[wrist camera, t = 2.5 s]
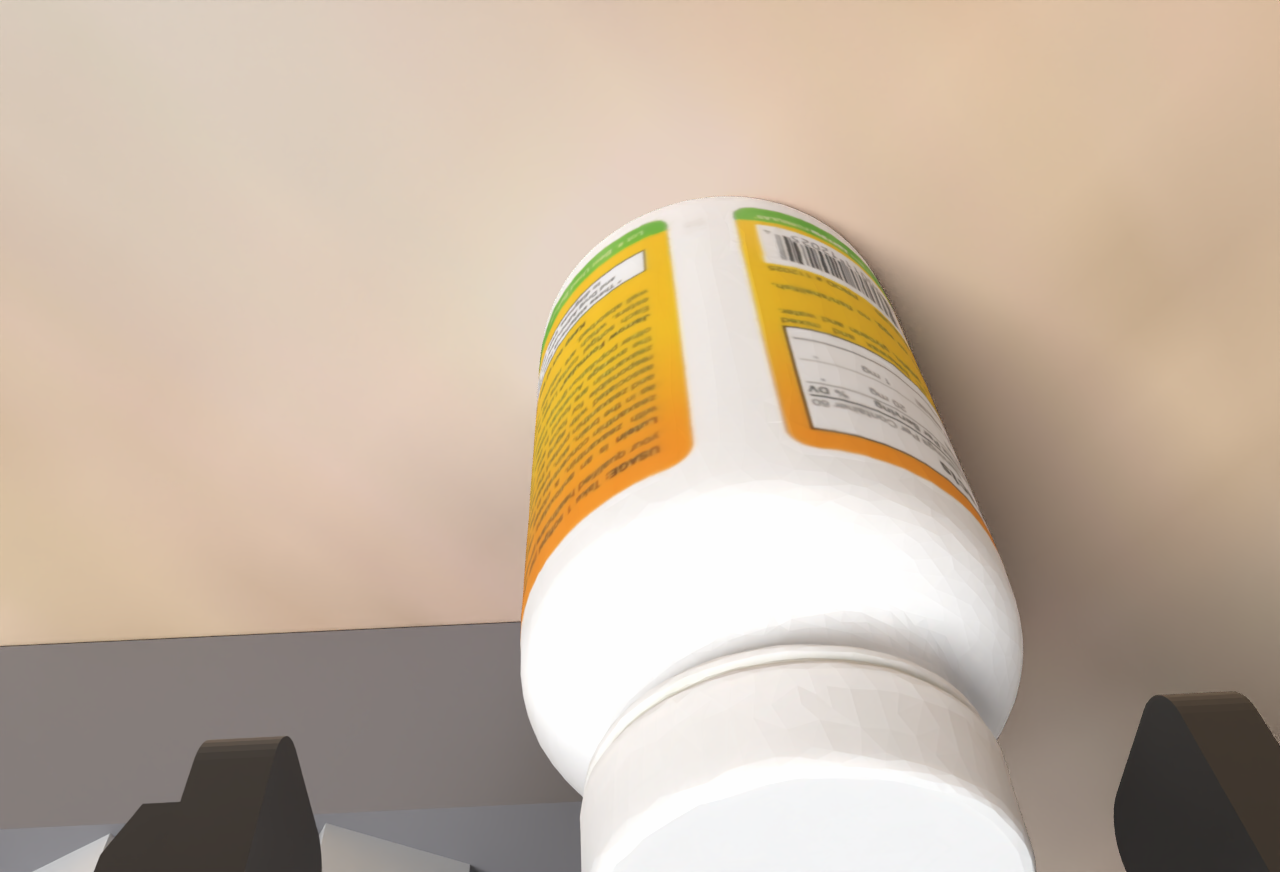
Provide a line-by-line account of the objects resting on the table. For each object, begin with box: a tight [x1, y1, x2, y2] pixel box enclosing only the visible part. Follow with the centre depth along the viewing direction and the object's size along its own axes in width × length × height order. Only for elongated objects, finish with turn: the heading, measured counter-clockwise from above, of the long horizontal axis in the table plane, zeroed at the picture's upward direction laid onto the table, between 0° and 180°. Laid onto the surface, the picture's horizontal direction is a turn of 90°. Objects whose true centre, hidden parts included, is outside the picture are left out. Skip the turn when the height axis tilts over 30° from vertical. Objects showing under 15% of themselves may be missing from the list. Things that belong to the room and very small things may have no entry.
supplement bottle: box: [520, 196, 1036, 872], centre depth 14 cm, size 5×5×10 cm
